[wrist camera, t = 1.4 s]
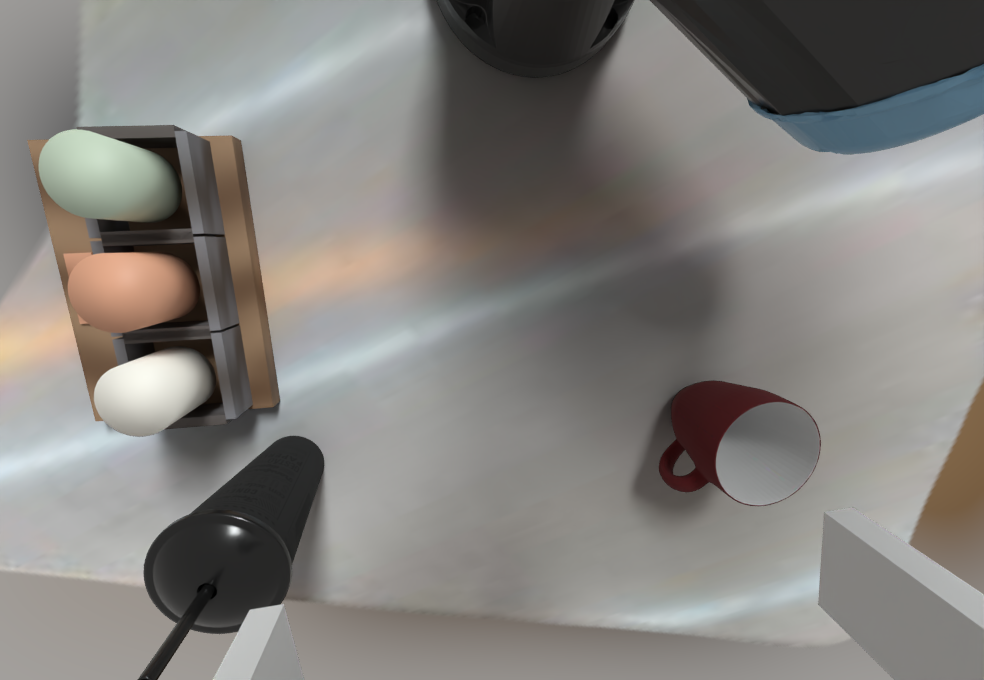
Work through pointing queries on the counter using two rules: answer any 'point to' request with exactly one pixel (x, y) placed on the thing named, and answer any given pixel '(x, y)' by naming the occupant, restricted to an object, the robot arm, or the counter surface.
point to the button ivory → (154, 390)
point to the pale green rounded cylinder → (108, 178)
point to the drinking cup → (233, 547)
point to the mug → (741, 442)
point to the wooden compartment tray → (210, 253)
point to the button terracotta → (132, 290)
